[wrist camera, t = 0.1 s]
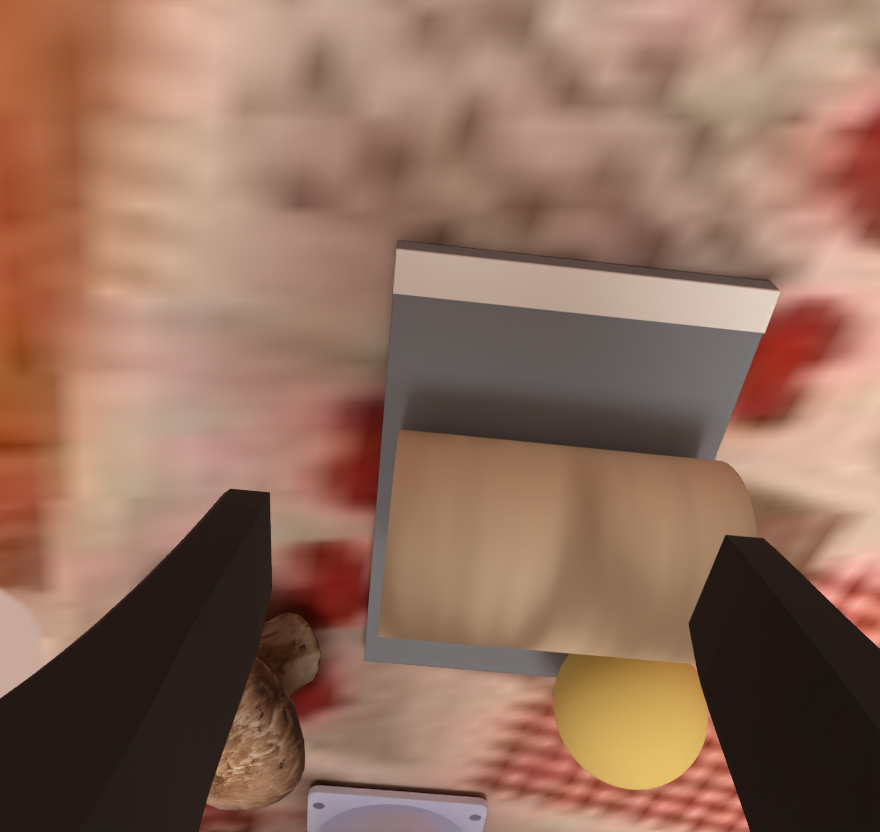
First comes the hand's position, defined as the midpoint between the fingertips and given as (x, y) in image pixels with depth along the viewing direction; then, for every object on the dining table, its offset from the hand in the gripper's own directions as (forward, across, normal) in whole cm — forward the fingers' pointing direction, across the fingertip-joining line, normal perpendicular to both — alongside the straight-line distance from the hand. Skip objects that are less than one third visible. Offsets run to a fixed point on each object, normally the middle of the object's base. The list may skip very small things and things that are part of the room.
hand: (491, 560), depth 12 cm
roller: (+10, -3, +6) cm, 12 cm away
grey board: (+10, -3, +6) cm, 12 cm away
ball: (+9, -7, +12) cm, 17 cm away
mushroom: (+10, +7, +14) cm, 19 cm away
